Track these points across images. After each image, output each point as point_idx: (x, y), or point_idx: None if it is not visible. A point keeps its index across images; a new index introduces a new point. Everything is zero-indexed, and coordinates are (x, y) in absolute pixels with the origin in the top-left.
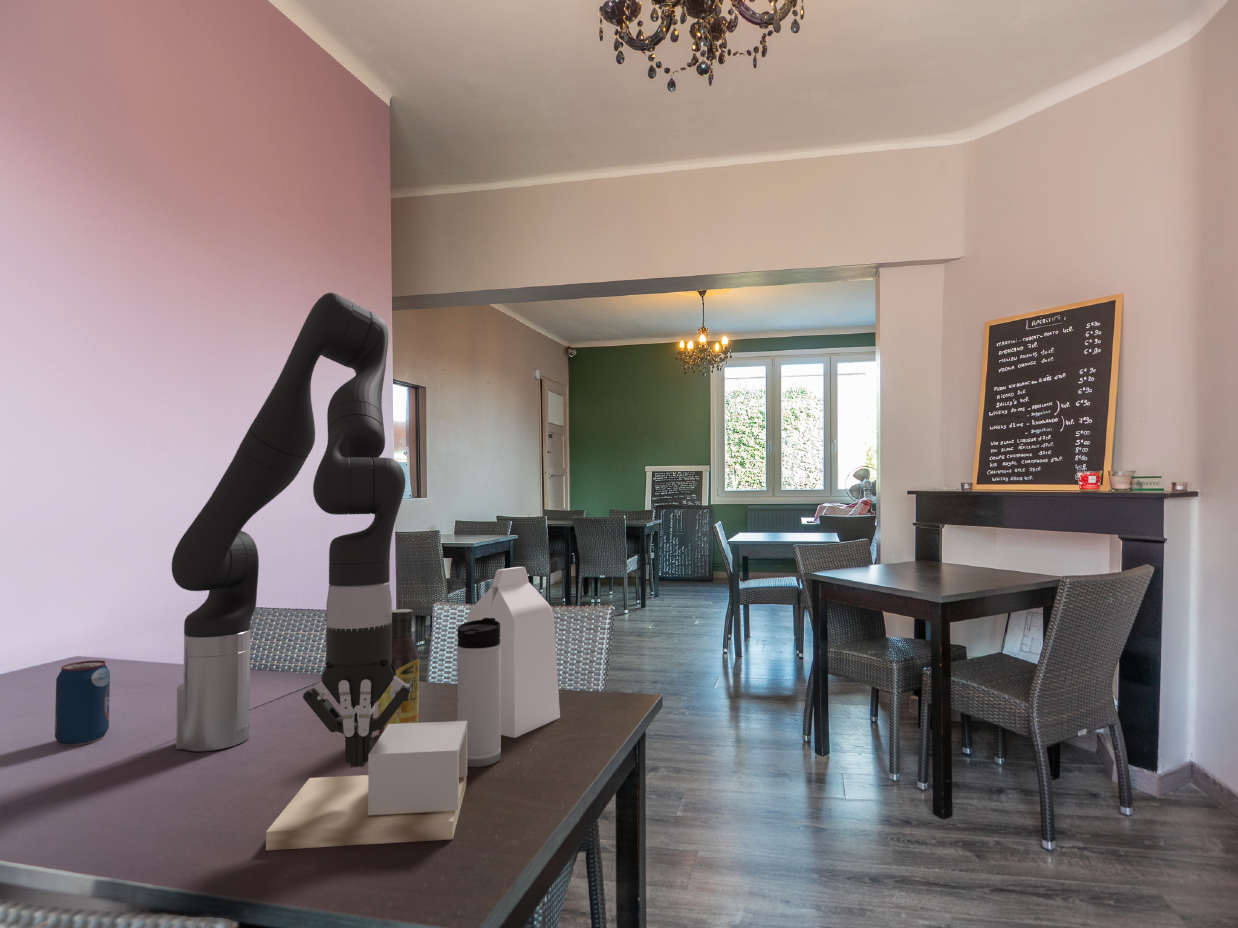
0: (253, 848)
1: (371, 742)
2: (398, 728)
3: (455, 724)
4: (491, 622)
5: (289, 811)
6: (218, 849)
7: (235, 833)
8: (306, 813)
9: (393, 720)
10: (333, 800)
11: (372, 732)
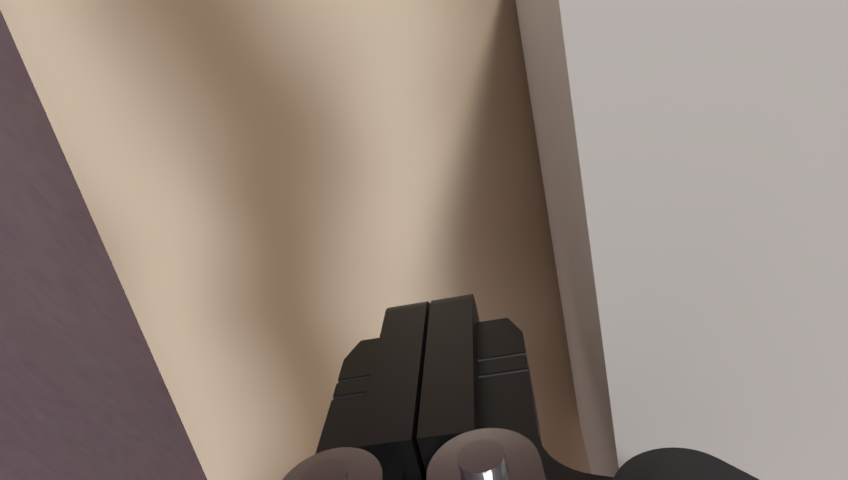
0: (195, 461)
1: (535, 412)
2: (743, 150)
3: None
4: None
5: (194, 377)
6: (84, 469)
7: (43, 373)
8: (282, 393)
9: None
10: (325, 267)
11: (542, 447)
